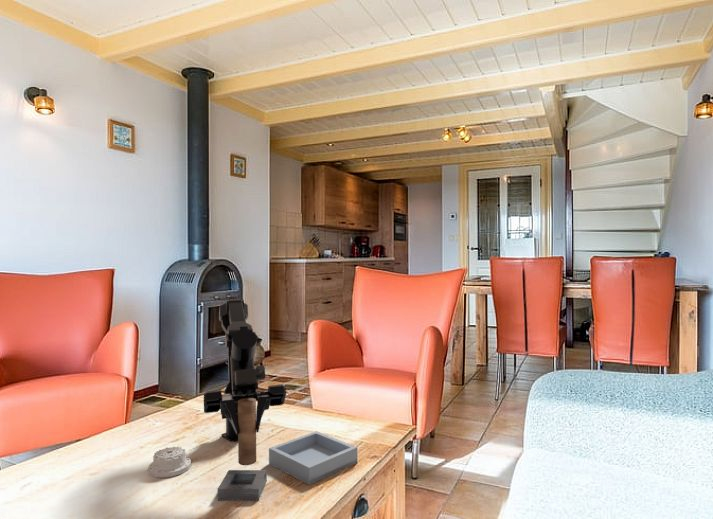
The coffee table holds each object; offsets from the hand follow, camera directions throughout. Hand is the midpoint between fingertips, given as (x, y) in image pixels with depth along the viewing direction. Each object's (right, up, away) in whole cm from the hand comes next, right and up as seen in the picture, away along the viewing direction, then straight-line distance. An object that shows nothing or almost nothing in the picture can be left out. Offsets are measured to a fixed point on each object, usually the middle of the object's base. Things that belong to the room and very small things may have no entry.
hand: (247, 432), depth 107 cm
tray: (+13, -13, +15) cm, 24 cm away
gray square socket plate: (-1, -13, +1) cm, 14 cm away
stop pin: (0, -7, +1) cm, 7 cm away
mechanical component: (-22, -14, +12) cm, 29 cm away
